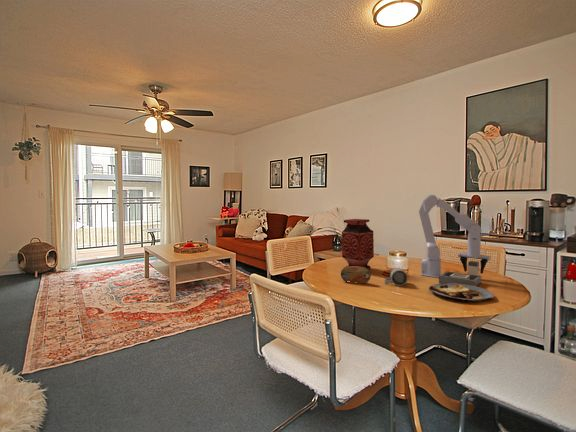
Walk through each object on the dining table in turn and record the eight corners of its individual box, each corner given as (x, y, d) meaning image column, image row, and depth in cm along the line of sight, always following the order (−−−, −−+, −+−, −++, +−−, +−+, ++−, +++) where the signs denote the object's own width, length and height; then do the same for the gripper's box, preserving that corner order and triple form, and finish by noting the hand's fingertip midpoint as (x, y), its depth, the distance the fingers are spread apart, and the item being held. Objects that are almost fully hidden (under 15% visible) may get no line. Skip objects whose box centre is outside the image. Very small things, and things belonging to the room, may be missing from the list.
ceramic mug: (405, 281, 163) (404, 266, 162) (407, 286, 155) (407, 270, 154) (383, 281, 165) (383, 266, 164) (385, 285, 157) (384, 270, 156)
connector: (468, 278, 166) (468, 261, 165) (470, 277, 169) (470, 260, 168) (476, 280, 163) (477, 262, 163) (478, 278, 166) (479, 261, 165)
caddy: (438, 282, 160) (438, 275, 159) (446, 277, 168) (446, 270, 168) (474, 288, 149) (474, 280, 149) (481, 283, 157) (481, 275, 157)
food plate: (457, 306, 126) (457, 297, 125) (417, 290, 148) (417, 282, 148) (505, 301, 133) (506, 292, 132) (460, 286, 155) (461, 279, 155)
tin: (340, 281, 165) (340, 265, 164) (342, 280, 167) (342, 264, 167) (370, 284, 158) (370, 268, 158) (371, 283, 161) (371, 266, 161)
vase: (356, 265, 202) (355, 218, 201) (374, 269, 192) (374, 219, 190) (341, 268, 194) (341, 219, 192) (359, 272, 183) (359, 220, 181)
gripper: (492, 246, 163) (491, 272, 164) (460, 244, 173) (460, 268, 174) (488, 248, 158) (488, 275, 159) (456, 245, 168) (456, 271, 169)
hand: (473, 272), depth 166 cm, fingers open, 7 cm apart
